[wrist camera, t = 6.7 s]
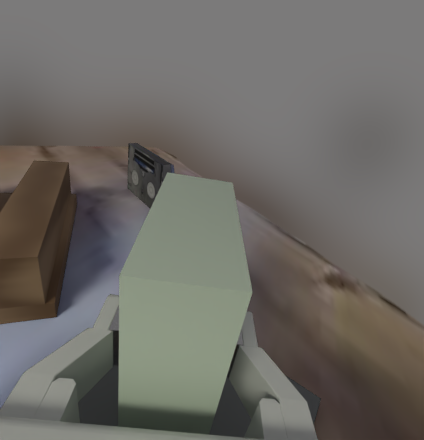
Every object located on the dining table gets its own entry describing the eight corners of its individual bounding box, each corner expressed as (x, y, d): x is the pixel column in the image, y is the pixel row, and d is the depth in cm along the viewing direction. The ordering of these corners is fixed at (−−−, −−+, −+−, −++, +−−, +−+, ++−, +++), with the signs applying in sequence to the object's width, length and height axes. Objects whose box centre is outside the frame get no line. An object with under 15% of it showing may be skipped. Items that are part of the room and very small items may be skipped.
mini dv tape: (170, 214, 32) (175, 164, 29) (158, 216, 31) (162, 165, 28) (138, 187, 37) (140, 143, 34) (127, 188, 36) (128, 143, 34)
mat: (-54, 456, 11) (-57, 451, 11) (157, 295, 20) (157, 291, 20) (184, 872, 6) (186, 876, 6) (318, 402, 15) (320, 398, 15)
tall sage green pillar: (117, 508, 10) (119, 275, 5) (150, 358, 15) (167, 172, 10) (185, 512, 10) (252, 292, 5) (194, 363, 16) (232, 182, 11)
